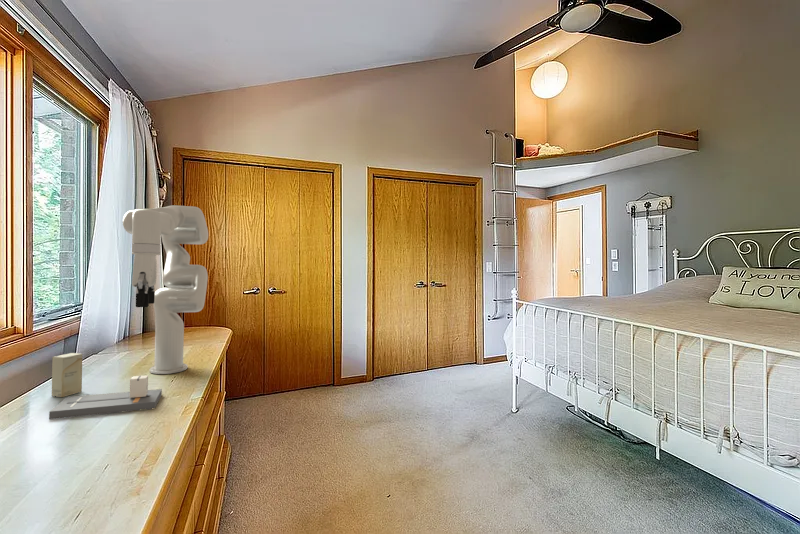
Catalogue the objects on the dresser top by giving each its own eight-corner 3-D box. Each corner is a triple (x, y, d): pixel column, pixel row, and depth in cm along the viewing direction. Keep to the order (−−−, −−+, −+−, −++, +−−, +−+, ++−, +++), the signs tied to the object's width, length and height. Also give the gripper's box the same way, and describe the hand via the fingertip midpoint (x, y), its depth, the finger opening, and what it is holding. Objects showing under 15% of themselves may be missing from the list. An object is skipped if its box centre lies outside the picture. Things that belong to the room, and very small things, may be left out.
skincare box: (62, 397, 122) (63, 357, 121) (50, 396, 122) (51, 356, 122) (82, 391, 128) (83, 353, 128) (71, 390, 129) (71, 352, 128)
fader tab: (132, 394, 119) (132, 376, 119) (147, 393, 121) (148, 375, 121) (129, 397, 116) (129, 379, 116) (145, 396, 118) (146, 378, 118)
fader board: (66, 403, 117) (66, 396, 117) (161, 395, 126) (161, 388, 126) (49, 419, 106) (49, 411, 106) (154, 408, 115) (154, 401, 115)
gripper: (138, 250, 131) (137, 302, 131) (125, 249, 115) (124, 308, 115) (164, 250, 134) (163, 302, 134) (155, 250, 118) (154, 308, 118)
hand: (145, 305), depth 125 cm, fingers open, 9 cm apart
